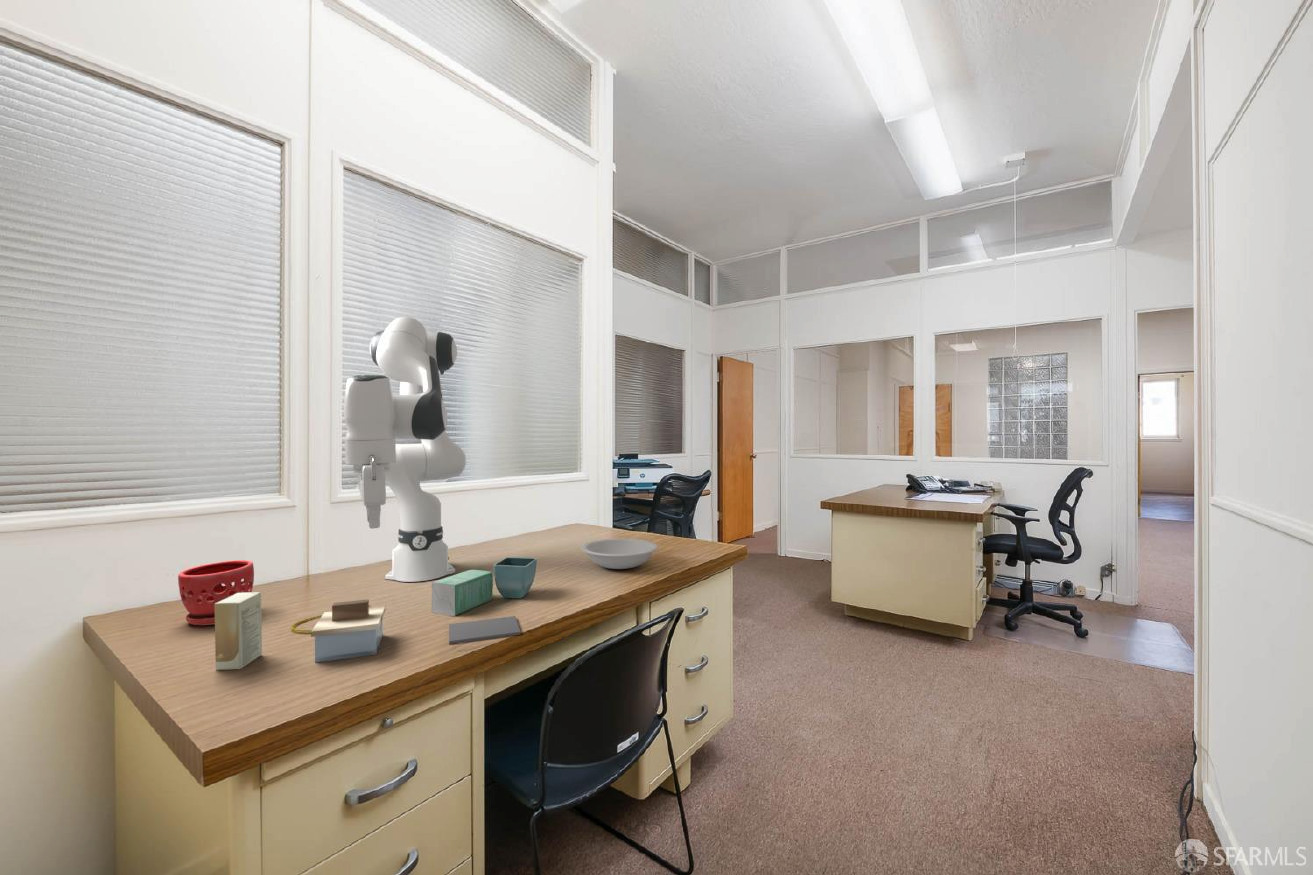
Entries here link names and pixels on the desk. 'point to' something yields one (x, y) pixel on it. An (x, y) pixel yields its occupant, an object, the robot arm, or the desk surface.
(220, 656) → the skincare box
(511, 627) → the rubber mat
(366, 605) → the birch lid
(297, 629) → the extension cord
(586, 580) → the desk surface
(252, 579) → the plant pot
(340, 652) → the blue storage bin
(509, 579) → the flower pot
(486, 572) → the box
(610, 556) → the soup bowl
